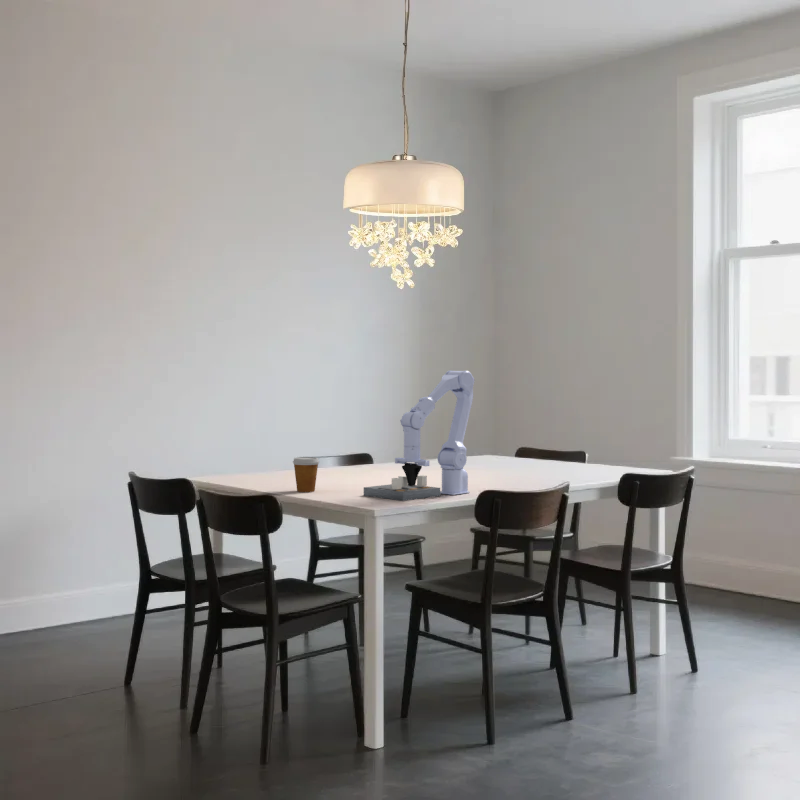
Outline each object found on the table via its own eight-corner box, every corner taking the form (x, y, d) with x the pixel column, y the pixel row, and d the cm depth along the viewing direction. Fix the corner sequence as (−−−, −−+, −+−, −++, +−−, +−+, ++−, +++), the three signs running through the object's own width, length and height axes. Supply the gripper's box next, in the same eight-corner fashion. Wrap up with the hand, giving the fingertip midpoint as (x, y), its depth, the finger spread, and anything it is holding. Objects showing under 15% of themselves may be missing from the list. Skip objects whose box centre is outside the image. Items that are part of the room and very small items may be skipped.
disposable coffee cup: (311, 493, 369) (312, 459, 369) (287, 492, 372) (288, 458, 372) (323, 490, 378) (323, 457, 377) (300, 489, 381) (300, 456, 381)
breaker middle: (402, 485, 366) (403, 475, 366) (407, 486, 364) (408, 476, 364) (398, 486, 364) (398, 476, 364) (403, 486, 362) (403, 476, 362)
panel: (400, 491, 378) (400, 482, 378) (440, 496, 365) (440, 487, 365) (363, 495, 364) (363, 486, 364) (403, 500, 351) (403, 491, 351)
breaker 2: (421, 485, 368) (421, 475, 368) (426, 485, 367) (426, 475, 367) (417, 485, 367) (417, 475, 366) (422, 486, 365) (422, 476, 365)
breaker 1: (396, 487, 359) (396, 477, 359) (401, 488, 357) (401, 478, 357) (391, 488, 357) (391, 478, 357) (396, 489, 356) (396, 478, 355)
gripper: (389, 445, 363) (388, 484, 363) (419, 448, 353) (419, 488, 353) (402, 444, 368) (402, 483, 368) (433, 447, 358) (433, 486, 358)
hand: (411, 485), depth 361 cm, fingers closed
